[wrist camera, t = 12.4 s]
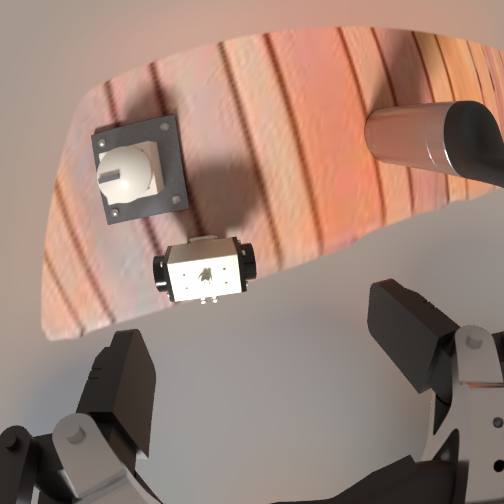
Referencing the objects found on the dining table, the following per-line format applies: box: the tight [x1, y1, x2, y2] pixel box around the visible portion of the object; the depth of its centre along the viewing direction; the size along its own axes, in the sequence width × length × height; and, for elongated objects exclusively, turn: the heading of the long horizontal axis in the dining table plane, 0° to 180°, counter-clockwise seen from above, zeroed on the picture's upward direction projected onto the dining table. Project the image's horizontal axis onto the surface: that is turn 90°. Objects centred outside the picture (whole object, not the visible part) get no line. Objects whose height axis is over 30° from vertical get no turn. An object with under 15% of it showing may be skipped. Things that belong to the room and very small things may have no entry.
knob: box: [97, 141, 164, 205], centre depth 31 cm, size 6×6×8 cm
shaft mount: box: [91, 114, 189, 225], centre depth 33 cm, size 12×13×6 cm
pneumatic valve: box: [153, 235, 256, 304], centre depth 36 cm, size 6×12×12 cm, turn 95°
